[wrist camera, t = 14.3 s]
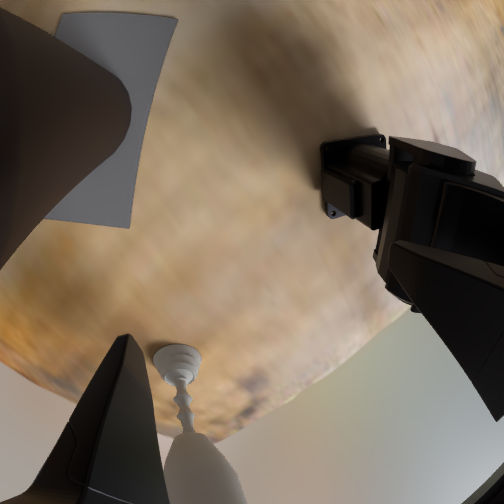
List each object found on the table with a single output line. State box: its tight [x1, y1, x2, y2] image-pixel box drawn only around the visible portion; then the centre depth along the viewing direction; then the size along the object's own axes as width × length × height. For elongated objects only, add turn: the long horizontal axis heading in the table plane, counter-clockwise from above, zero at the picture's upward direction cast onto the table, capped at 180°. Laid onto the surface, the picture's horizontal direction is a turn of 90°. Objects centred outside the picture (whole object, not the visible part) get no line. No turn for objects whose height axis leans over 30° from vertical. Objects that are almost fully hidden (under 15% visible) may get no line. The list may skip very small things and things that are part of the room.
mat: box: [43, 12, 178, 229], centre depth 14 cm, size 8×15×1 cm, turn 164°
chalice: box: [153, 344, 247, 504], centre depth 19 cm, size 7×7×18 cm
